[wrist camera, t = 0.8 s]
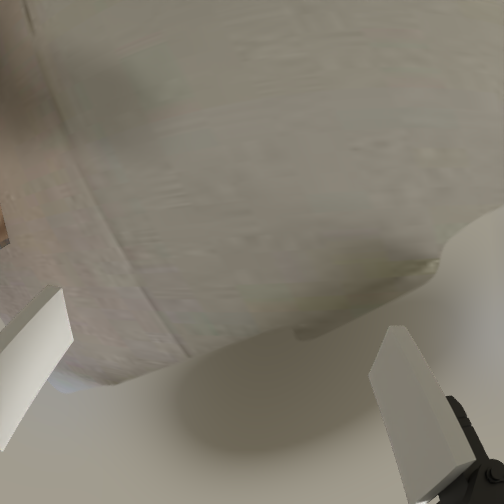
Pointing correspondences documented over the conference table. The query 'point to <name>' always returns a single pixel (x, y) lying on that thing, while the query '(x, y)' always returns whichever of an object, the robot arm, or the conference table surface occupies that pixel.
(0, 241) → the lane
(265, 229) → the conference table surface
